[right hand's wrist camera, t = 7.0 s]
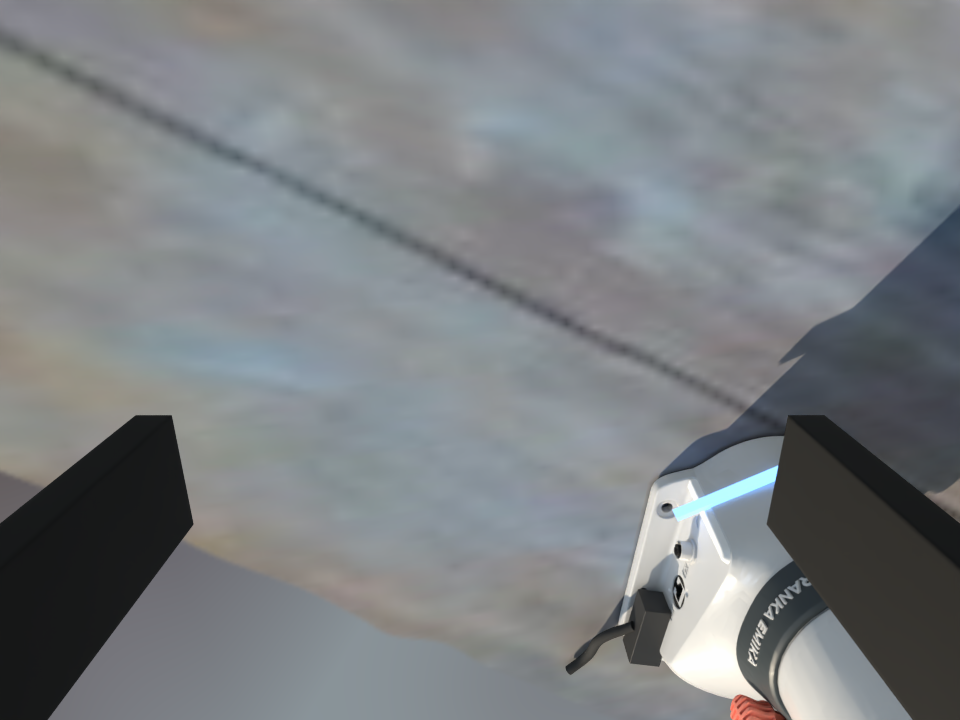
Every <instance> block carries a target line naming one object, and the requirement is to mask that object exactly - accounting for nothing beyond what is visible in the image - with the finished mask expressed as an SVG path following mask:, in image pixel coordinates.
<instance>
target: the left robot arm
mask: <svg viewBox="0 0 960 720" xmlns="http://www.w3.org/2000/svg"><path fill="white" fill-rule="evenodd" d="M783 439H784V436H770V437H762V438H757V439H752V440H749V441H745V442H742V443H739V444H737V445H734V446H732V447H730V448H728V449H726V450H724V451H722V452H720V453H718V454H717V455H715V456H713V457H712V458H710V459H709V460H707V461H706V462H704V463H702V464H700V465H699V466H697V467H694V468H692V469H687V470H683V471H678V472H674V473H671V474H668V475H665V476H663V477H660V478H659V479H657V480H656V481H655V482H654V484H653V485H652V488H651V491H650V495H649V499H648V503H647V507H646V511H645V515H644V519H643V523H642V527H641V531H640V535H639V539H638V544H637V548H636V552H635V556H634V560H633V564H632V568H631V572H630V576H629V580H628V584H627V588H626V592H625V596H624V600H623V604H622V608H621V612H620V616H619V623H618V624H619V626H616V627H613V628H610V629H608V630H606V631H604V632H602V633H600V634H599V635H597V636H596V637H595V638H594V639H593V640H592V641H591V643H590V644H589V646H588V648H587V649H586V651H585V652H584V653H583V654H582V655H581V656H579V657H578V658H577V659H575V660H574V661H573V662H571V663H570V664H568V665H567V666H566V671H567V672H568V673H569V674H570V675H571V674H573V673H574V672H575V671H577V670H578V669H580V668H581V667H582V666H584V665H585V664H586V663H587V662H589V661H590V660H591V659H592V658H593V657H594V655H595V654H596V652H597V650H598V649H599V647H600V646H601V645H602V644H603V643H605V642H607V641H609V640H611V639H613V638H616V637H619V636H622V635H624V637H623V642H624V645H625V649H626V652H627V656H628V659H629V663H631V664H640V665H649V666H658V667H659V665H660V662H661V660H662V661H665V662H666V664H667V665H668V666H669V667H670V669H671V670H672V671H673V672H674V673H675V674H676V675H678V676H679V677H680V678H681V679H683V680H684V681H686V682H687V683H689V684H691V685H693V686H695V687H697V688H699V689H702V690H704V691H706V692H709V693H712V694H715V695H718V696H722V697H726V698H730V699H733V701H732V704H731V710H732V712H731V719H733V720H912V719H911V717H910V716H909V714H908V713H907V712H906V710H905V709H904V708H903V706H902V705H901V704H900V702H899V701H898V700H897V698H896V697H895V696H894V694H893V693H892V692H891V690H890V689H889V688H888V686H887V685H886V684H885V682H884V681H883V680H882V678H881V677H880V676H879V674H878V673H877V672H876V670H875V669H874V668H873V666H872V665H871V664H870V662H869V661H868V660H867V658H866V657H865V656H864V654H863V653H862V652H861V650H860V649H859V648H858V646H857V645H856V644H855V642H854V641H853V639H852V638H851V637H850V635H849V634H848V633H847V631H846V630H845V629H844V627H843V626H842V625H841V623H840V622H839V621H838V619H837V618H836V617H835V615H834V614H833V613H832V611H831V610H830V609H829V607H828V606H827V605H826V603H825V602H824V601H823V599H822V598H821V597H820V595H819V594H818V593H817V591H816V590H815V589H814V587H813V586H812V585H811V583H810V582H809V581H808V579H807V578H806V577H805V575H804V574H803V573H802V571H801V570H800V569H799V567H798V566H797V564H796V563H795V562H794V560H793V559H792V558H791V556H790V555H789V554H788V552H787V551H786V550H785V548H784V547H783V546H782V544H781V543H780V542H779V540H778V539H777V538H776V536H775V535H774V534H773V532H772V531H771V530H770V528H769V527H768V526H767V519H768V514H769V509H770V504H771V499H772V494H773V489H774V484H775V479H776V474H777V469H778V464H779V459H780V454H781V449H782V444H783ZM665 503H670V504H669V505H668V506H666V507H662V505H663V504H665ZM771 705H772V706H773V707H774V708H775V709H777V711H774V709H773V707H772V706H771Z"/></svg>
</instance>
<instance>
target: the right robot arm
mask: <svg viewBox="0 0 960 720" xmlns="http://www.w3.org/2000/svg"><path fill="white" fill-rule="evenodd" d="M192 526H193V519H192V514H191V509H190V504H189V499H188V494H187V489H186V484H185V479H184V474H183V469H182V464H181V459H180V454H179V449H178V444H177V439H176V434H175V429H174V424H173V419H172V415H136V416H134V417H133V418H132V419H131V420H129V421H128V422H127V423H126V424H124V425H123V426H122V427H121V428H119V429H118V430H117V431H116V432H114V433H113V434H112V435H111V436H109V437H108V438H107V439H105V440H104V441H103V442H102V443H100V444H99V445H98V446H97V447H95V448H94V449H93V450H92V451H90V452H89V453H88V454H87V455H85V456H84V457H83V458H82V459H80V460H79V461H78V462H77V463H75V464H74V465H73V466H72V467H70V468H69V469H68V470H67V471H65V472H64V473H63V474H62V475H60V476H59V477H58V478H57V479H55V480H54V481H53V482H52V483H50V484H49V485H48V486H47V487H45V488H44V489H43V490H42V491H40V492H39V493H38V494H37V495H35V496H34V497H33V498H32V499H30V500H29V501H28V502H27V503H25V504H24V505H23V506H22V507H20V508H19V509H18V510H17V511H15V512H14V513H13V514H12V515H10V516H9V517H8V518H7V519H5V520H4V521H3V522H1V523H0V720H48V718H49V717H50V716H51V714H52V713H53V712H54V710H55V709H56V708H57V706H58V705H59V704H60V702H61V701H62V700H63V698H64V697H65V696H66V694H67V693H68V692H69V690H70V689H71V688H72V686H73V685H74V684H75V682H76V681H77V680H78V678H79V677H80V676H81V674H82V673H83V672H84V670H85V669H86V668H87V666H88V665H89V664H90V662H91V661H92V660H93V658H94V657H95V656H96V654H97V653H98V652H99V650H100V649H101V647H102V646H103V645H104V643H105V642H106V641H107V639H108V638H109V637H110V635H111V634H112V633H113V631H114V630H115V629H116V627H117V626H118V625H119V623H120V622H121V621H122V619H123V618H124V617H125V615H126V614H127V613H128V611H129V610H130V609H131V607H132V606H133V605H134V603H135V602H136V601H137V599H138V598H139V597H140V595H141V594H142V593H143V591H144V590H145V589H146V587H147V586H148V585H149V583H150V582H151V581H152V579H153V578H154V577H155V575H156V574H157V572H158V571H159V570H160V569H161V567H162V566H163V564H164V563H165V562H166V560H167V559H168V558H169V556H170V555H171V554H172V552H173V551H174V550H175V548H176V547H177V546H178V544H179V543H180V542H181V540H182V539H183V538H184V536H185V535H186V534H187V532H188V531H189V530H190V528H191V527H192ZM767 526H768V527H769V528H770V530H771V531H772V532H773V534H774V535H775V536H776V538H777V539H778V540H779V542H780V543H781V544H782V546H783V547H784V548H785V550H786V551H787V552H788V554H789V555H790V556H791V558H792V559H793V560H794V562H795V563H796V564H797V566H798V567H799V569H800V570H801V571H802V573H803V574H804V575H805V577H806V578H807V579H808V581H809V582H810V583H811V585H812V586H813V587H814V589H815V590H816V591H817V593H818V594H819V595H820V597H821V598H822V599H823V601H824V602H825V603H826V605H827V606H828V607H829V609H830V610H831V611H832V613H833V614H834V615H835V617H836V618H837V619H838V621H839V622H840V623H841V625H842V626H843V627H844V629H845V630H846V631H847V633H848V634H849V635H850V637H851V638H852V639H853V641H854V642H855V644H856V645H857V646H858V648H859V649H860V650H861V652H862V653H863V654H864V656H865V657H866V658H867V660H868V661H869V662H870V664H871V665H872V666H873V668H874V669H875V670H876V672H877V673H878V674H879V676H880V677H881V678H882V680H883V681H884V682H885V684H886V685H887V686H888V688H889V689H890V690H891V692H892V693H893V694H894V696H895V697H896V698H897V700H898V701H899V702H900V704H901V705H902V706H903V708H904V709H905V710H906V712H907V713H908V714H909V716H910V717H911V719H912V720H960V523H959V522H957V521H956V520H955V519H954V518H952V517H951V516H950V515H948V514H947V513H946V512H945V511H943V510H942V509H941V508H940V507H938V506H937V505H936V504H935V503H933V502H932V501H931V500H930V499H928V498H927V497H926V496H925V495H923V494H922V493H921V492H920V491H918V490H917V489H916V488H915V487H913V486H912V485H911V484H910V483H908V482H907V481H906V480H905V479H903V478H902V477H901V476H900V475H898V474H897V473H896V472H895V471H893V470H892V469H891V468H890V467H888V466H887V465H886V464H885V463H883V462H882V461H881V460H880V459H878V458H877V457H876V456H875V455H873V454H872V453H871V452H870V451H868V450H867V449H866V448H865V447H863V446H862V445H861V444H860V443H858V442H857V441H856V440H855V439H853V438H852V437H851V436H849V435H848V434H847V433H846V432H844V431H843V430H842V429H841V428H839V427H838V426H837V425H836V424H834V423H833V422H832V421H831V420H829V419H828V418H827V417H826V416H824V415H788V419H787V424H786V429H785V434H784V439H783V444H782V449H781V454H780V459H779V464H778V469H777V474H776V479H775V484H774V489H773V494H772V499H771V504H770V509H769V514H768V519H767Z"/></svg>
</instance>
